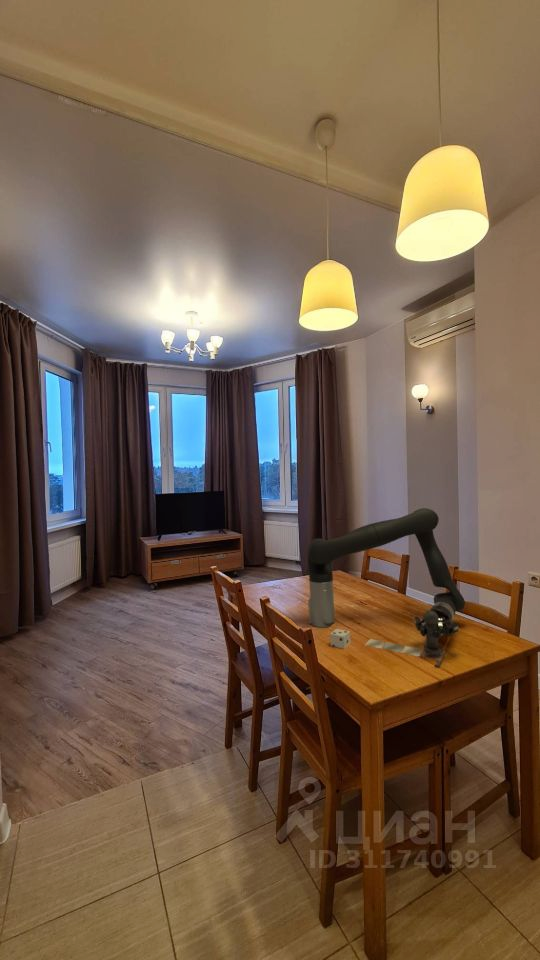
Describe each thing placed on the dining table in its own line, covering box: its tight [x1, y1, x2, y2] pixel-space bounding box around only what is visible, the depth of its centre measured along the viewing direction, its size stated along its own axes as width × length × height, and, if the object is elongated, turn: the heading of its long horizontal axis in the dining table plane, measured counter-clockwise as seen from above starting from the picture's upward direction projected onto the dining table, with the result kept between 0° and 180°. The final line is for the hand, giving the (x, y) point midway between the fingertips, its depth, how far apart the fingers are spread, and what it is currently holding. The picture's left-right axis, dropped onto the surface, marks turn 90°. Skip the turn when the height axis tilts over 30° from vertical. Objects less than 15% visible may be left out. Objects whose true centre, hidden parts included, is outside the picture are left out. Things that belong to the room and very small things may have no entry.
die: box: [329, 628, 351, 650], centre depth 131 cm, size 5×5×5 cm
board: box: [364, 638, 447, 669], centre depth 125 cm, size 24×11×1 cm, turn 56°
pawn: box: [422, 609, 442, 655], centre depth 120 cm, size 5×5×13 cm
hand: (429, 634), depth 118 cm, fingers closed on pawn, 3 cm apart
